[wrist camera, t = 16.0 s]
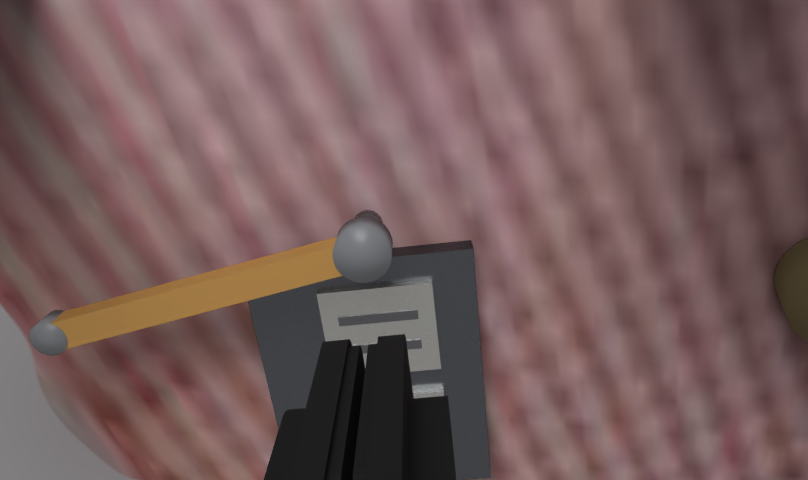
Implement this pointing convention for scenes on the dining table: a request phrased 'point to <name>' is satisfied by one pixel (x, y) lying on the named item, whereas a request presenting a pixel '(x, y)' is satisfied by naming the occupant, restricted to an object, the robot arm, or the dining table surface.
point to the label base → (382, 316)
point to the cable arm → (222, 287)
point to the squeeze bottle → (794, 287)
